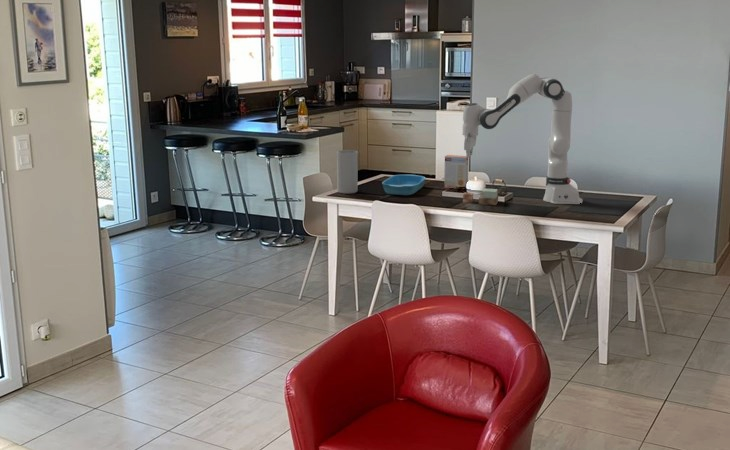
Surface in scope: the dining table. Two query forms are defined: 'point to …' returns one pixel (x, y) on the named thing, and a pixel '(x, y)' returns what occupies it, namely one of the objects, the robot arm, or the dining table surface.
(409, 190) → the casserole dish
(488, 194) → the sage block
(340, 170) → the cylinder vase
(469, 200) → the terracotta cube
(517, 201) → the dining table surface
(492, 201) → the walnut block
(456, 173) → the cracker box
